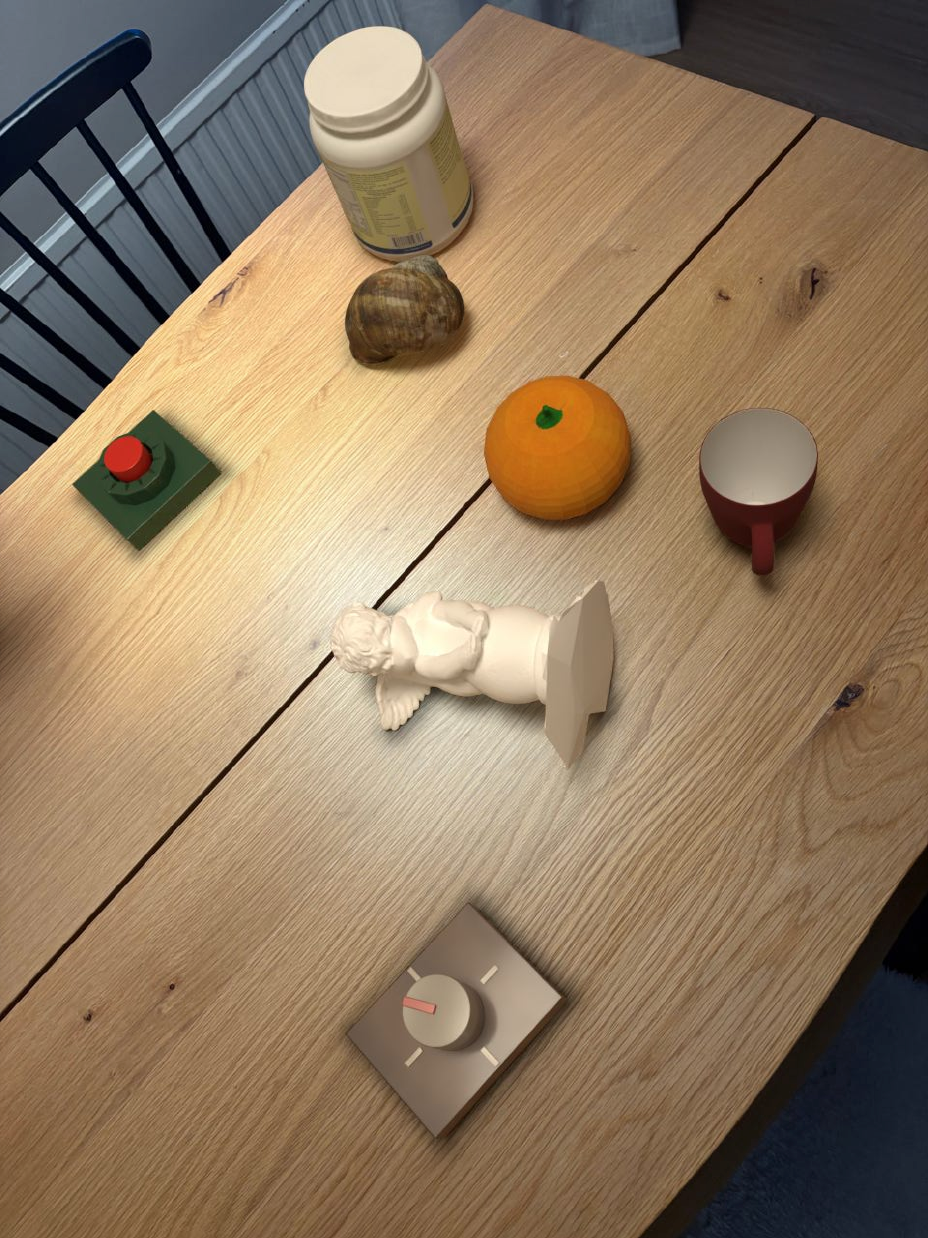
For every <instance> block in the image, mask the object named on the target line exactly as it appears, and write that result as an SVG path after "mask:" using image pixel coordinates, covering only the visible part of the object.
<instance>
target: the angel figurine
mask: <svg viewBox="0 0 928 1238" xmlns="http://www.w3.org/2000/svg"><path fill="white" fill-rule="evenodd" d="M609 598H610V597H609V593H608V592H607V588H606V583H605V581H603V580H597V579H595V580H594V582H591V583H589V585H588V586H586V587H585V588H584V589H583V592H582V594H581V595H576V598H575V599H574V600H573V602H572V603H571V604H570V605H568V607H567V609H566V610H564V611H563V612H562V613H558V612H557V613H552V614H551V615H548V614H546V613H543V612H542V611H540V610H538V609H536V608H534V607H530V606H527V605H520V604H510V605H503V606H498V607H495V608H494V607H493V606H491V605H489V604H487V603H485V602H483V601H476V600H465V599H463V600H462V599H456V600H455V599H454V600H453V599H443V594H442V592H441V591H439V590H435V591H427V592H426V591H425V592H424V593H422V594H421V595H420V596H419V597H417V599H416V600H415V601H413V602H409V603H407V604H406V605H404V606H403V607H402V608H400V609H399V610H398V611H397V612H396V613H395V614H391V615H387V614H386V613H384V612H383V611H380V610H376V609H375V608H373V607H368V606H367V605H366V604H365V603H364V602H362V601H357V602H355V603H353V604H351V605H349V606H344V607H343V609H342V612H341V614H340V615H338V616H337V617H336V619H335V622H334V623H333V626H332V629H331V631H330V633H329V638H330V641H329V643H330V650H331V652H332V653H333V656H334V658H335V659H336V660H337V662H338V666H339V668H340V669H342V670H344V671H345V672H347V673H348V674H356V673H363V674H364V675H366V674H369V675H370V676H371V677H372V676H373V677H377V678H376V679H377V683H376V686H375V692H374V693H375V700H376V704H377V706H378V711H379V713H378V715H380V716H381V717H380V727H381V728H382V730H384V731H388V730H392V731H393V732H394V731H397V730H398V729H399V728H400V726H402V725H405V724H406V723H407V720H408V719H410V718H412V717H413V713H414V711H416V710H418V709H419V707H420V702H424V701H425V696H429V695H430V694H431V688H432V687H433V688H434V687H435V688H438V689H440V690H441V691H443V692H446V693H448V694H450V695H454V696H457V697H464V698H465V697H474V696H480V695H485V696H487V697H489V698H490V699H492V700H494V701H498V702H501V703H503V704H504V703H505V704H510V705H511V704H513V705H518V704H519V705H521V704H528V703H532V702H536V701H539V702H541V704H543V705H545V720H544V732H545V735H546V738H548V741H549V742H550V743H551V745H552V747H553V748H554V750H555V752H556V753H557V754H558V757H560V759H561V760H562V763H564V765H563V768H564V769H565V768H566V771H568V770H569V769H571V767H572V766H573V764H574V763H575V762H576V761H577V759H578V758H579V757H580V755H582V754H583V749H584V744H585V738H586V732H587V727H588V723H589V717H590V716H591V714H596V713H602V712H606V711H607V706H608V698H609V692H610V685H611V679H612V672H613V665H614V657H615V656H614V631H613V629H614V628H613V620H612V613H611V607H610V599H609Z"/></svg>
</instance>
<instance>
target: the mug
mask: <svg viewBox="0 0 928 1238" xmlns="http://www.w3.org/2000/svg"><path fill="white" fill-rule="evenodd" d="M817 445H818V444H817V442H816V440H815V437H814V435H813V434H812V432H811V430H810V429H809V427H808V426H807V425H805V423H804V422H802V421H801V420H800V419H798V418H797V417H796V416H794V415H792V414H790V413H788V412H785V411H783V410H780V409H775V408H770V407H751V408H750V407H749V408H745V409H740V410H738V411H735V412H732V413H731V414H728V415H726V416H724V417H723V418H721V419H720V420H719V421H718V422H716V423H715V424H714V425H712V427H711V428H710V429H709V431H707V433H706V435H705V437H704V438H703V441H702V442H701V446H700V449H699V454H698V455H699V456H698V475H699V476H698V477H699V484H700V489H701V492H702V495H703V498H704V500H705V503H706V505H707V507H708V510H709V512H710V515H711V516H712V520H713V521H714V523H715V526H717V528H718V529H719V530H720V532H721V533H722V534H723V535H724V536H726V537H727V538H728V539H729V540H731V541H733V542H735V543H737V544H739V545H741V546H746V547H749V548H751V571H752V573H753V574H754V575H756V576H763V577H764V576H769V575H771V574H772V573H773V572H774V569H775V543H776V542H778V541H779V540H781V539H783V538H785V536H787V535H788V534H789V532H791V530H793V529H794V527H795V526H796V524H797V522H798V521H799V519H800V517H801V515H802V513H803V511H804V509H805V508H806V505H807V504H808V502H809V500H810V498H811V495H812V493H813V491H814V488H815V485H816V480H817V474H818V463H819V450H818V446H817Z"/></svg>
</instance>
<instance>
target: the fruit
mask: <svg viewBox="0 0 928 1238" xmlns="http://www.w3.org/2000/svg"><path fill="white" fill-rule="evenodd" d="M613 398H614V397H612V396H611V394H610V393H609V392H607V391H606V390H604V389H603V388H601V387H599V386H597V385H596V384H594V383H593V382H592V381H589V380H587V379H583V378H579V377H575V376H572V375H549V376H548V375H546V376H543V377H540V378H536V379H533V380H530V381H528V382H526V383H524V384H523V385H521V386H519V387H518V388H516V389H515V390H513V391H512V392H511V393H509V395H508V396H507V397H505V398H504V400H503V401H502V402H501V403H500V404H499V405H498V406H497V407H496V409H495V411H494V413H493V414H492V417H491V419H490V422H489V424H488V425H487V427H486V431H485V439H484V447H483V457H484V462H485V465H486V469H487V473H488V477H489V479H490V481H491V483H492V485H493V486H494V487H495V489H496V490H497V492H498V493H499V494H500V496H501V497H502V499H503V500H504V501H505V502H507V503H508V504H509V505H510V506H513V507H514V508H515V509H517V510H518V511H520V513H522V514H525V515H528V516H531V517H535V518H538V519H542V520H569V519H573V518H576V517H579V516H582V515H586V514H588V513H590V512H591V511H593V510H594V509H597V507H600V506H601V505H603V504H604V503H606V502H607V501H608V499H610V497H611V496H612V495H613V494H614V493H615V492H616V490H617V489H618V488H619V487H620V486H621V483H622V482H623V479H624V477H625V475H626V473H627V470H628V467H629V466H630V463H631V450H632V435H631V432H630V428H629V425H628V422H627V419H626V416H625V413H624V411H623V410H622V409H621V406H620V405H618V403H617V402H616V400H615V399H613Z"/></svg>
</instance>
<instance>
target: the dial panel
mask: <svg viewBox="0 0 928 1238" xmlns="http://www.w3.org/2000/svg"><path fill="white" fill-rule="evenodd" d="M430 974H445V975H448V976H451V977H453V978H455V979H457V980H459V981H461V982H463V983H465V984H467V985H469V986H470V987H472V988H473V989H474V990H475V991H476V992H477V994H478V995H479V997H480V999H481V1001H482V1003H483V1007H484V1024H483V1027H482V1030H481V1032H480V1034H479V1036H478V1037H477V1038H476V1040H475V1041H474V1042H473V1043H472V1044H470V1045H469V1046H468V1047H466V1048H464V1049H461V1050H458V1051H445V1050H441V1049H436V1048H432V1047H427V1046H424V1045H422V1044H420V1043H418V1042H417V1041H416V1040H415V1039H413V1038H412V1036H411V1035H410V1034H409V1032H408V1031H407V1029H406V1027H405V1024H404V1020H403V1006H402V1003H403V999H404V996H406V994H407V992H408V991H409V989H410V988H411V986H412V985H413V984H414V983H415V982H416V981H418V980H419V979H420V978H422V977H424V976H427V975H430ZM567 1003H568V999H567V997H566V996H564V995H563V994H562V993H561V992H560V990H558V989H557V988H556V987H555V985H553V983H552V982H550V981H549V980H548V979H547V978H546V977H545V976H544V975H543V974H542V973H541V972H540V971H539V969H538V968H537V967H536V966H534V964H532V963H531V961H529V959H528V958H526V957H525V955H523V954H522V953H521V952H520V950H519V949H518V948H517V947H515V945H514V944H513V943H512V942H511V941H510V940H509V939H508V938H507V937H506V936H504V934H503V933H502V932H501V931H500V930H499V929H498V928H497V927H496V926H495V925H494V924H493V923H492V922H491V921H490V920H489V919H488V918H487V917H486V916H485V915H484V914H483V913H482V912H481V911H480V910H479V908H477V907H476V906H474V905H473V904H472V903H471V902H469V901H468V902H467V903H465V905H463V907H462V908H461V909H460V910H459V911H458V912H457V913H456V915H454V917H453V918H452V919H451V920H450V921H449V922H448V923H447V924H446V925H445V926H444V928H442V929H441V931H440V932H438V934H437V935H436V936H435V937H434V938H433V939H432V940H431V941H430V942H429V944H428V945H427V946H426V947H425V948H423V950H422V951H421V952H420V953H419V954H418V955H417V957H416V958H414V959H413V961H412V962H411V963H409V965H408V966H407V967H406V968H405V969H404V970H403V972H402V973H400V975H398V976H397V978H396V979H395V980H394V981H393V982H392V983H391V984H390V985H389V986H388V987H387V989H385V991H383V993H382V994H381V995H380V996H379V997H378V998H377V999H376V1000H375V1001H374V1003H372V1005H370V1007H369V1008H368V1009H367V1010H366V1011H365V1012H364V1013H363V1014H362V1015H361V1016H360V1017H359V1018H358V1020H357V1021H355V1022H354V1024H353V1025H352V1026H351V1027H350V1028H349V1029H348V1030H347V1031H346V1033H345V1035H346V1036H347V1038H348V1039H349V1040H350V1041H351V1042H352V1044H353V1045H354V1046H355V1047H356V1048H357V1050H358V1051H359V1052H360V1053H361V1055H363V1057H364V1058H365V1059H366V1060H367V1061H368V1062H369V1064H370V1065H371V1066H372V1067H373V1068H374V1069H375V1071H376V1072H377V1073H378V1074H379V1075H380V1076H381V1077H382V1079H383V1080H384V1081H385V1082H386V1083H387V1084H388V1086H389V1087H390V1088H391V1089H392V1090H393V1091H394V1093H395V1094H396V1095H397V1096H398V1098H400V1100H401V1101H402V1102H403V1103H404V1104H405V1105H406V1106H407V1108H408V1109H409V1111H411V1112H412V1114H413V1115H414V1116H415V1117H416V1118H417V1120H418V1121H419V1122H420V1123H421V1124H422V1125H423V1126H424V1128H425V1129H426V1130H427V1131H428V1132H429V1134H430V1135H431V1136H432V1137H433V1138H434V1139H444V1138H446V1137H447V1136H448V1135H449V1134H450V1132H451V1131H452V1130H453V1129H454V1128H455V1127H456V1126H457V1124H459V1123H460V1121H461V1120H462V1119H463V1118H465V1116H466V1115H467V1113H468V1112H469V1111H471V1109H472V1108H473V1107H474V1106H475V1105H476V1103H478V1101H479V1100H480V1099H481V1098H482V1097H483V1096H484V1095H485V1093H486V1092H487V1091H488V1090H489V1089H490V1088H491V1087H492V1086H493V1085H494V1083H496V1081H497V1080H498V1079H499V1078H500V1077H501V1076H502V1075H503V1074H504V1073H505V1071H506V1070H508V1068H509V1067H510V1066H511V1065H512V1063H514V1061H515V1060H517V1058H518V1057H519V1056H520V1055H521V1053H522V1052H523V1051H524V1050H525V1049H526V1048H527V1047H528V1046H529V1045H530V1044H531V1042H532V1041H533V1040H534V1039H535V1038H537V1036H538V1035H539V1034H540V1033H541V1031H542V1030H543V1029H544V1028H545V1027H546V1025H548V1023H549V1022H551V1020H553V1018H554V1017H555V1016H556V1014H558V1012H559V1011H560V1010H561V1009H562V1008H563V1007H564V1006H565V1004H567Z"/></svg>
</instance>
